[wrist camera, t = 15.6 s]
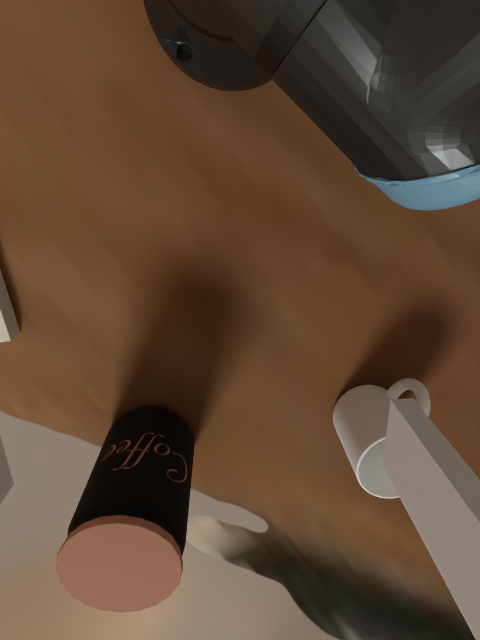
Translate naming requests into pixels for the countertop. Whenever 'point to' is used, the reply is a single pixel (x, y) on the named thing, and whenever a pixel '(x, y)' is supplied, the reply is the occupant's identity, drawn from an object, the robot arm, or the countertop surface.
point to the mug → (372, 430)
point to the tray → (7, 315)
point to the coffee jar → (132, 515)
